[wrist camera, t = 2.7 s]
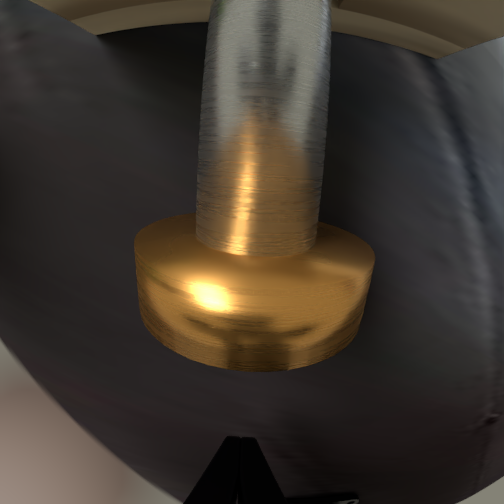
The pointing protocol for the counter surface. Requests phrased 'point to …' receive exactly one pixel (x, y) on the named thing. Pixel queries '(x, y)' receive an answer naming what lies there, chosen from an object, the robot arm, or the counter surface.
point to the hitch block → (342, 19)
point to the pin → (257, 205)
